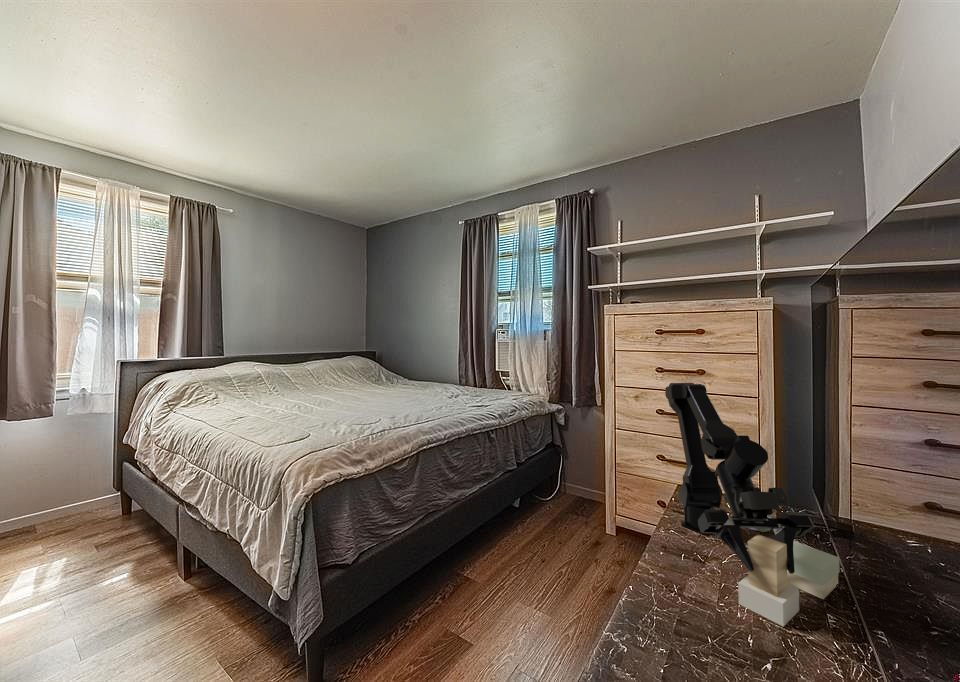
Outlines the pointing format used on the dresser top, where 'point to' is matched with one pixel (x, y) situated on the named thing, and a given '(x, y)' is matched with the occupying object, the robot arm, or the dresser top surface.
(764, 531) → the pacifier
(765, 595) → the grey stand
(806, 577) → the sage slab upper
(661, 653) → the dresser top surface
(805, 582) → the birch slab lower
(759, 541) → the maple block
